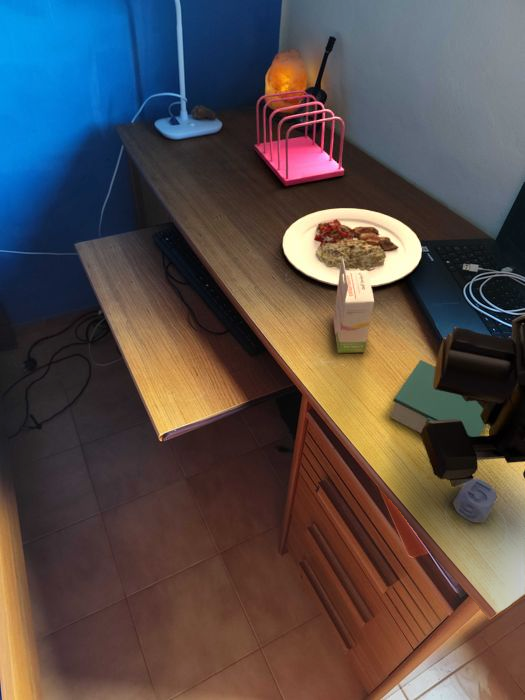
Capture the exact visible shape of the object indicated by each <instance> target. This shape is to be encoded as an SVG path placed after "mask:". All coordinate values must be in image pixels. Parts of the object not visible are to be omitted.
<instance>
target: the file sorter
mask: <svg viewBox="0 0 525 700" xmlns="http://www.w3.org/2000/svg"><path fill="white" fill-rule="evenodd" d="M293 94H302V95H295V96H289V97H287V95H293ZM280 96H286V97H282V98H281V97H280ZM273 97H280V98H274V99H270V100H268V101H267V102H266V103H265V104H264V106H263V109H262V132H263V142H261V143H260V120H259V118H260V117H259V116H260V115H259V108H260V107H259V105H260V103H261V101H263V100H264V99H266V98H273ZM305 98H306V103H299V104H296V105H290V106H285V107H281V108H277V109H275V110H274V111H272V112H271V114H270V116H269V118H268V136H269V142H268V141H267V139H266V135H267V133H266V109H267V107H268V106H269V105H270V104H272V103H277V102H283V101H291V100H297V99H305ZM310 98H311V99H313V101H311V102H310ZM313 105H314V111H310V112H309V108H310V107H309V106H313ZM318 105H319V106H320V107H321V110H320V109H319V110H318ZM302 107H306V110H305V112H304V113H298V114H292V115H288V116H284V117H283V118H282V119H281V120H280V121H279V123H278V125H277V140H274V141H273V133H272V119H273V117H274V115H275V114H276V113H279V112H284V111H288V110H293V109H298V108H302ZM255 112H256V114H255V115H256V116H255V117H256V144H255V143H254V151H255V152H256V153H257V154H258V156H259V157H260V158H261V159H262V160H263V162H264V163H265V164H266V166H268V168H269V169H270V170H271V171H272V172H273V173H274V175H275V176H276V177H277V178H278V180H279V181H280V182H281V183H282V184H283V185H284V187H289V186H294V185H299V184H306V183H310V182H315V181H320V180H326V179H330V178H335V177H341V176H344V174H345V169H344V168H343V167H342V160H343V159H342V158H343V149H344V136H345V122H344V120H343V119H342V118H341V117H339V116H335V113H334V112H333V111H332V110H330V109H325V105H324V104H323V103H322V102H320V101H317V98H316V97H315V96H314V95H312V94H308V93H307V92H306V91H305V90H303V89H301V90H300V89H299V90H292V91H285V92H278V93H271V94H265V95H262V96H260V98H259V99H258V100H257V102H256V106H255ZM326 113H328V114H330V116H331V117H328V118H327V117H326V116H325V115H326ZM317 114H321V119H317ZM311 115H313V120H312V121H309V116H311ZM300 117H305V122H302V123H298V124H294V125H292V126H290V127H289V129H288V130H287V131H286V133H285V139H281V126H282V125H283V123H284V122H285V121H287V120H289V119H296V118H300ZM325 117H326V118H325ZM335 120H336V121H339V122H340V123H341V131H340V144H339V156H338V163H337V161H335V160H334V159H333V147H334V133H335ZM326 122H331V133H330V145H329V147H330V148H329V154H328V153H327V152H326V151H325V150H324V138H325V123H326ZM320 123H321V138H320V139H321V140H320V146H319V145H318V144H317V143H316V128H317V127H316V126H317V124H320ZM309 125H313V130H312V138H311V137H309V135H308V126H309ZM301 127H304V128H305V129H304V136H298V137H297V136H296V137H292V138H289V135H290V133H291V131H293V130H294V129H296V128H301ZM255 147H256V148H257V149H258V151H259V152H260V153H261V155H262V156H263V157H264V158H263V157H262V156H261V155H260V153H259V152H258V151H257V150H256V149H255ZM265 160H266V161H267V162H266V161H265Z"/></svg>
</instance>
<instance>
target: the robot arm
mask: <svg viewBox="0 0 525 700" xmlns="http://www.w3.org/2000/svg"><path fill="white" fill-rule="evenodd" d="M435 362H436V363H435V373H434V382H433V387H434V389H435V390H439V391H444V392H448V393H453V394H457V395H461V396H462V397H463V399H464V400H465V401H477V402H478V403H479V404H480V406H481V407H482V408H483V411H482V413H481V414H480V417H481V419H482V421H483V423H484V424H486V425H488V426H489V429H488V435H481V436H476V437H469V436H468V434H467V432H466V430H465V427H464V425H463V423H462V421H460V420H457V419H453V420H438V421H427V422H426V424H425V425H424V427H423V429H422V432H421V433H420V434H419V436H420V438H421V441H422V444H423V446H424V449H425V453H426V456H427V459H428V460H429V464H430V466H431V469H432V473H433V475H434V476H435V477H436V478H438V479H440V480H447V481H448V482H449V485H450V487H451V488H455V487H456V488H457V487H459V486H461V485H464V483H465V482H467V481H470V480H472V479H473V478H474V475H475V474H476V473H477V471H478V470H479V468H478V467H479V466H478V465H479V464H478V461H481V460H482V461H484V460H498V459H504V460H505V461H506V464H511V463H523V462H524V463H525V314H522V315H521V316H518V317H517V318H514V319H513V320H512V321H511V334H510V336H509V338H508V337H503V336H497V335H492V334H486V333H481V332H477V331H474V330H471V329H468V328H462V327H459V326H455V327H453V328H452V331H451V333H450V332H449V333H448V334H447V335H446V336H445V337H444V338H443V339H442V342H441V343H440V347H439V350H438V355H437V359H436V361H435ZM522 476H523V479H525V469H524V470H523V473H522Z"/></svg>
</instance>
